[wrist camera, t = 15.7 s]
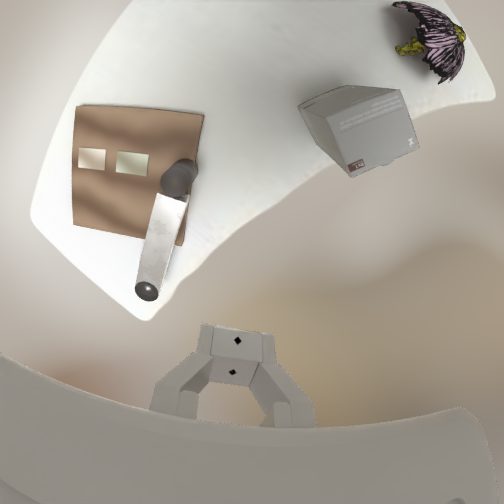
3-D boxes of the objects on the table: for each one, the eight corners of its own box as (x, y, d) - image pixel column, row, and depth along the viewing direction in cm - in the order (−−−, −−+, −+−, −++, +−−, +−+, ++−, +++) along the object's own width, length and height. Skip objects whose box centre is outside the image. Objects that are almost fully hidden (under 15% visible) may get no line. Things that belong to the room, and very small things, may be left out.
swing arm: (163, 186, 36) (157, 193, 34) (190, 195, 37) (185, 203, 35) (138, 285, 45) (133, 296, 42) (160, 293, 46) (155, 304, 43)
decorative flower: (498, 87, 21) (449, 62, 18) (444, 97, 32) (384, 85, 29) (464, 5, 17) (402, -32, 14) (419, 25, 28) (354, 3, 25)
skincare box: (345, 84, 32) (401, 79, 18) (365, 128, 35) (425, 149, 21) (293, 106, 34) (321, 109, 20) (315, 151, 37) (354, 182, 23)
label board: (81, 105, 32) (52, 109, 25) (209, 116, 34) (200, 119, 28) (77, 221, 42) (55, 241, 35) (188, 242, 44) (178, 268, 38)
